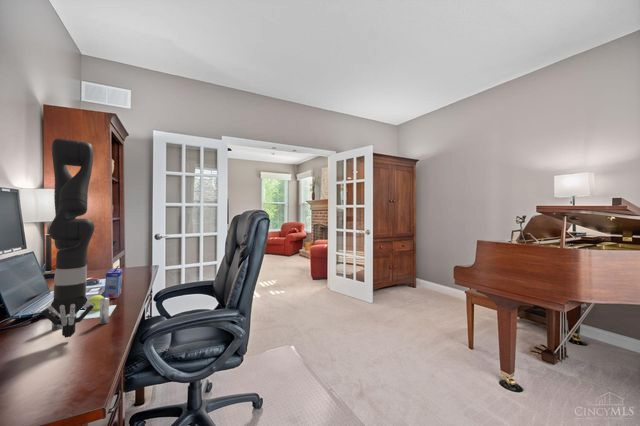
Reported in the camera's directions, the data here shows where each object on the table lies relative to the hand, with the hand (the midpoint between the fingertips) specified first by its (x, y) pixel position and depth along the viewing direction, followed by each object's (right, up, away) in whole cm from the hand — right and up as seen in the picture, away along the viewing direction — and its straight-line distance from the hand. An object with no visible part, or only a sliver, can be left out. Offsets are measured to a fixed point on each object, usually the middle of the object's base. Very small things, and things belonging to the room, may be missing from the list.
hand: (68, 336), depth 87 cm
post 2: (0, -2, +15) cm, 15 cm away
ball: (-14, +2, +27) cm, 31 cm away
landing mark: (-13, -1, +24) cm, 27 cm away
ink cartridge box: (-21, -2, +47) cm, 51 cm away
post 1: (-12, -1, +9) cm, 15 cm away
